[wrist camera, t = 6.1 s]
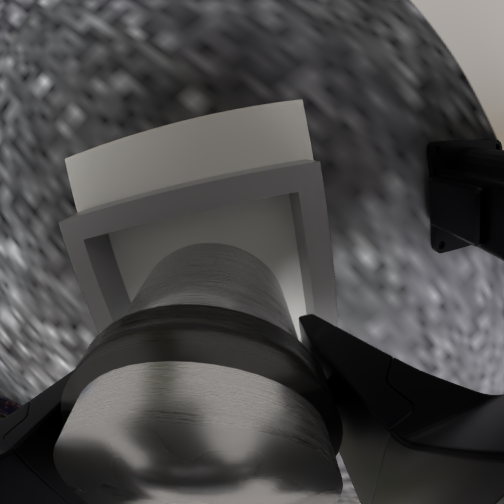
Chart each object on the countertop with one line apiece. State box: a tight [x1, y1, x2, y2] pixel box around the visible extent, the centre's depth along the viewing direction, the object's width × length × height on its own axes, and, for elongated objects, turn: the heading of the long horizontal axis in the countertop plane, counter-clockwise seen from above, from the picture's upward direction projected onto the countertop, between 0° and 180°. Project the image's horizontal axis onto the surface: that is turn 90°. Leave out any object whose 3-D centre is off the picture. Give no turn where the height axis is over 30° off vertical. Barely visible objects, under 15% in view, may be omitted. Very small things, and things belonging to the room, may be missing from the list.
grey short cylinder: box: [53, 243, 343, 504], centre depth 7 cm, size 6×6×7 cm
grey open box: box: [58, 99, 338, 343], centre depth 13 cm, size 9×13×6 cm
